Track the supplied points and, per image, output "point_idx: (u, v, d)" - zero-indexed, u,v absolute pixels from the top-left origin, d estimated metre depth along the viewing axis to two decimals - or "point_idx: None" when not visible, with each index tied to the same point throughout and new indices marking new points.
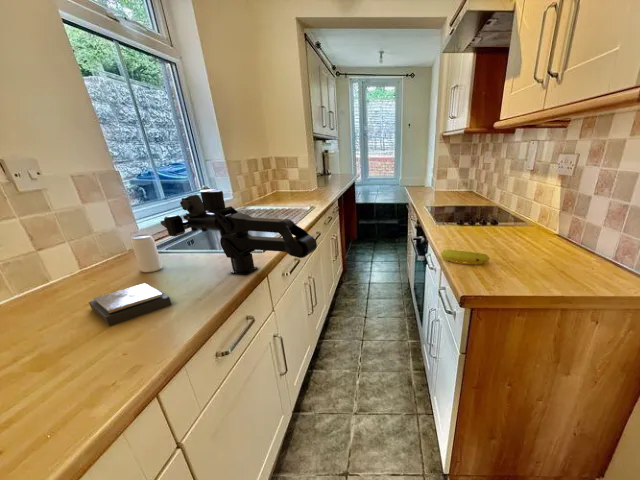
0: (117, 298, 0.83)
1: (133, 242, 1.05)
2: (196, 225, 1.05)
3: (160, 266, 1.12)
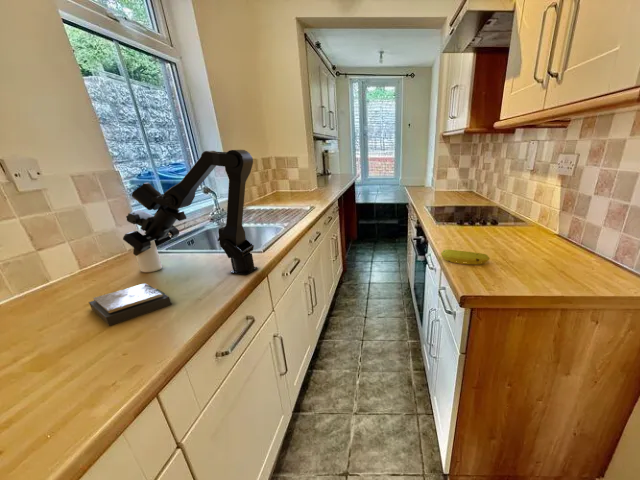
0: (117, 298, 0.83)
1: None
2: (155, 230, 1.03)
3: (160, 266, 1.12)
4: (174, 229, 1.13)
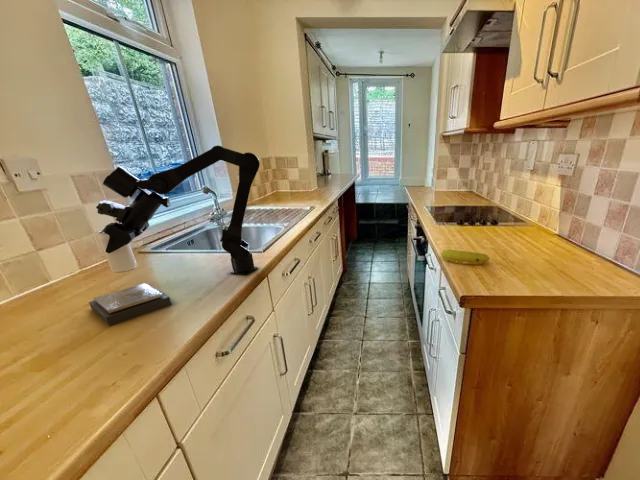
0: (117, 298, 0.83)
1: (104, 237, 0.91)
2: (136, 220, 0.92)
3: (136, 264, 0.99)
4: None
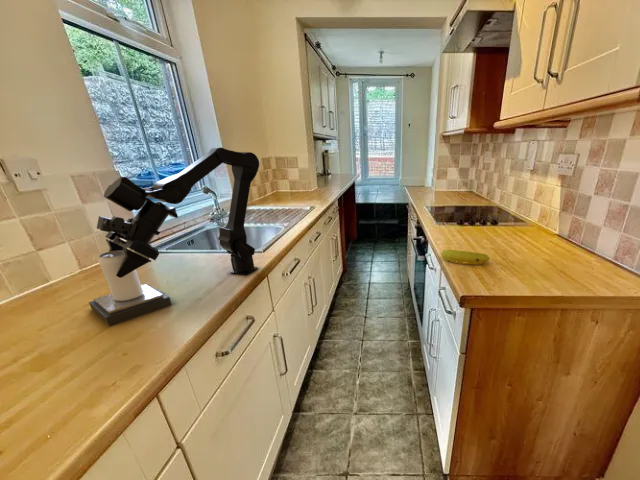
0: None
1: (115, 261, 0.78)
2: (147, 235, 0.83)
3: None
4: None
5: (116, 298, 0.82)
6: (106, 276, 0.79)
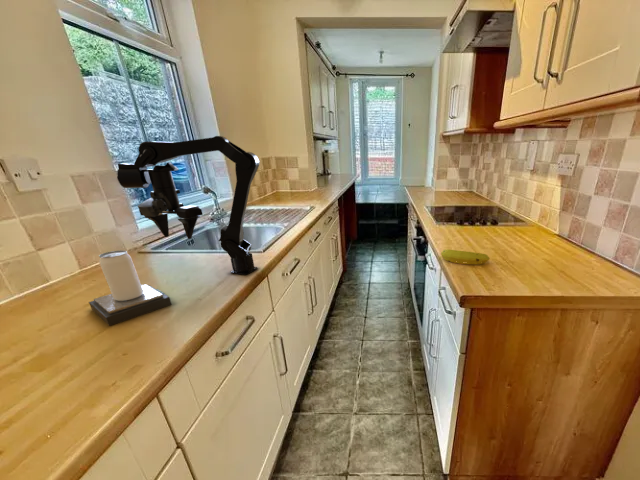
0: None
1: (115, 261, 0.78)
2: (176, 198, 0.97)
3: None
4: None
5: (116, 298, 0.82)
6: (106, 276, 0.79)
